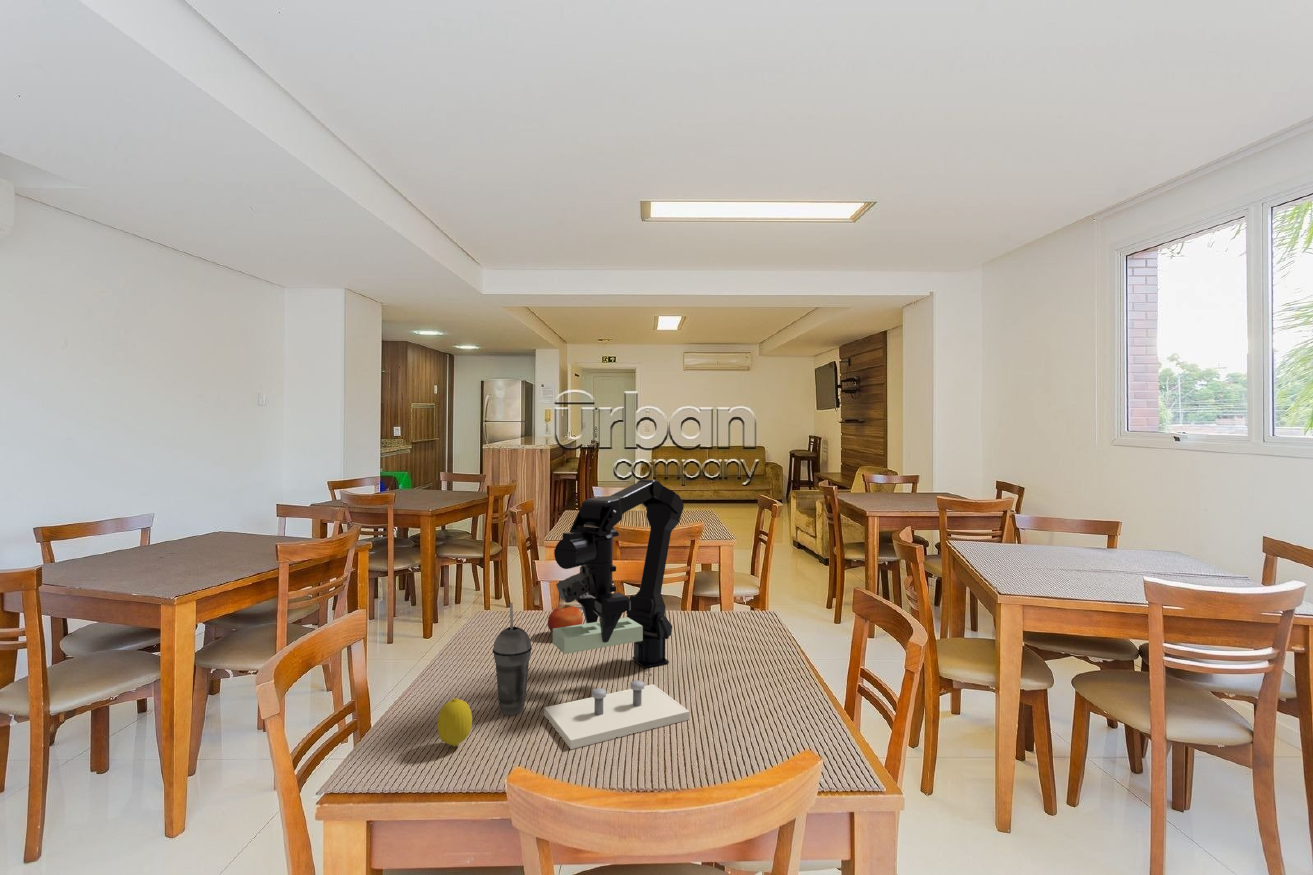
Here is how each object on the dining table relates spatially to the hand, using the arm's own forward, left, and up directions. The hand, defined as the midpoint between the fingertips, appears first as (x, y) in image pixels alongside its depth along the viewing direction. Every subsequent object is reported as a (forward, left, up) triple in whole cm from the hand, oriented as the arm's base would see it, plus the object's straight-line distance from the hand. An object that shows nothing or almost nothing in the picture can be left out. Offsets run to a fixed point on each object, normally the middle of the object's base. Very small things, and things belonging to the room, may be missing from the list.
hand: (598, 636), depth 123 cm
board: (+2, +13, -11) cm, 17 cm away
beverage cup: (+18, +1, -11) cm, 21 cm away
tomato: (-6, -36, -11) cm, 38 cm away
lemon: (+30, +10, -11) cm, 33 cm away
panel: (0, 0, -1) cm, 1 cm away
